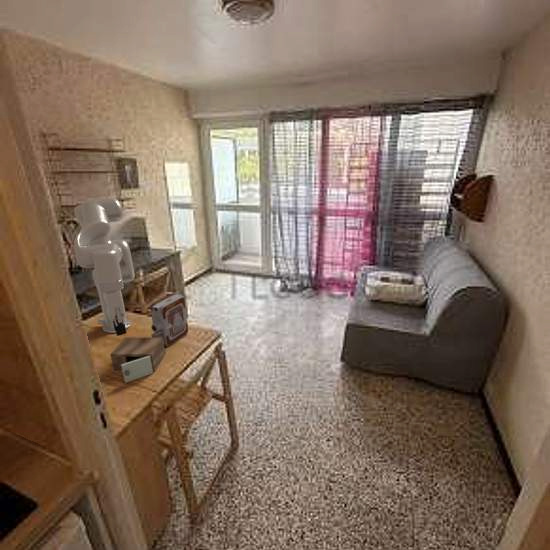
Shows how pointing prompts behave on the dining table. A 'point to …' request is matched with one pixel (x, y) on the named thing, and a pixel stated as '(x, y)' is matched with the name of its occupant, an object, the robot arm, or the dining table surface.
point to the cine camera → (169, 319)
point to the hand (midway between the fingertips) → (120, 331)
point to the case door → (137, 369)
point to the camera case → (138, 351)
